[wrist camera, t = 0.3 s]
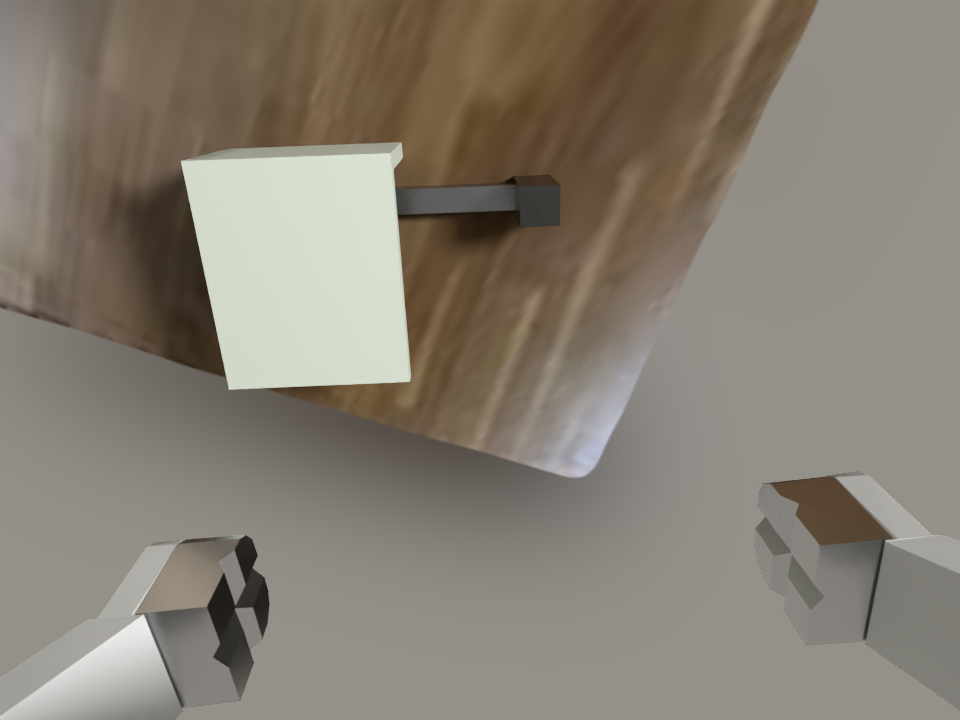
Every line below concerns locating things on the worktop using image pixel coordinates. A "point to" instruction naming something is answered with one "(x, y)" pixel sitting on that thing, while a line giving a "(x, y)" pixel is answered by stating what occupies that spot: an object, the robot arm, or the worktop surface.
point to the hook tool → (488, 199)
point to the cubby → (303, 263)
